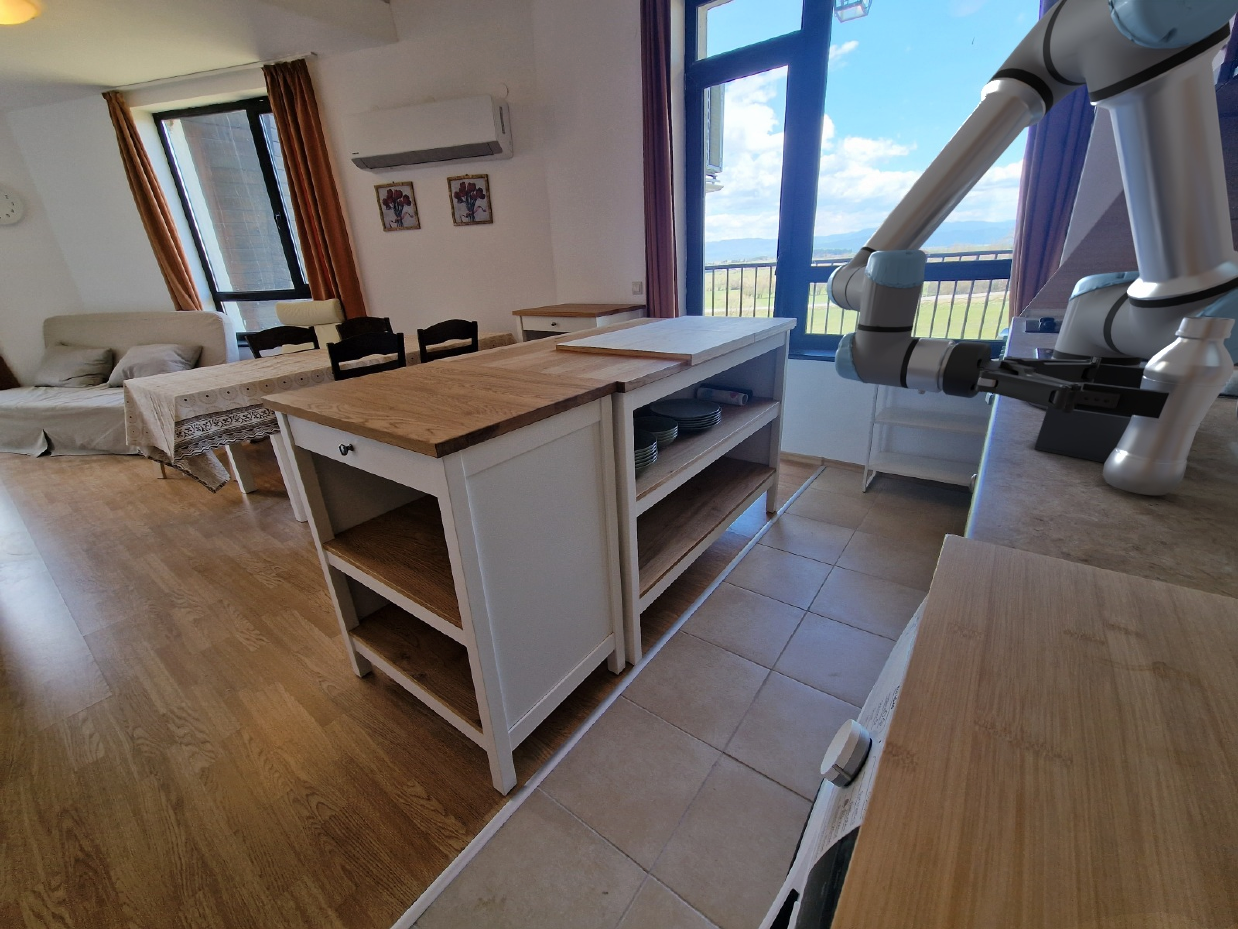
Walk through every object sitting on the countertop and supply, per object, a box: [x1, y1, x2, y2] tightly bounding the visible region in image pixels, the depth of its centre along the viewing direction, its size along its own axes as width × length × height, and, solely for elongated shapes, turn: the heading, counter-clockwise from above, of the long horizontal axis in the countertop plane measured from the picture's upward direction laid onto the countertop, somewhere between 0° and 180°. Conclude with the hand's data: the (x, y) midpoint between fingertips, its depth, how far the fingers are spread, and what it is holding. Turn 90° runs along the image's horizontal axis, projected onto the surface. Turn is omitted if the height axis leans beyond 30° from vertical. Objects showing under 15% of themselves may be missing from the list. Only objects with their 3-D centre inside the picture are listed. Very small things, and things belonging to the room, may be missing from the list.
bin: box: [1033, 403, 1132, 464], centre depth 69 cm, size 11×11×6 cm
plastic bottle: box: [1102, 317, 1235, 496], centre depth 54 cm, size 6×7×20 cm
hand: (1167, 392), depth 54 cm, fingers open, 13 cm apart
